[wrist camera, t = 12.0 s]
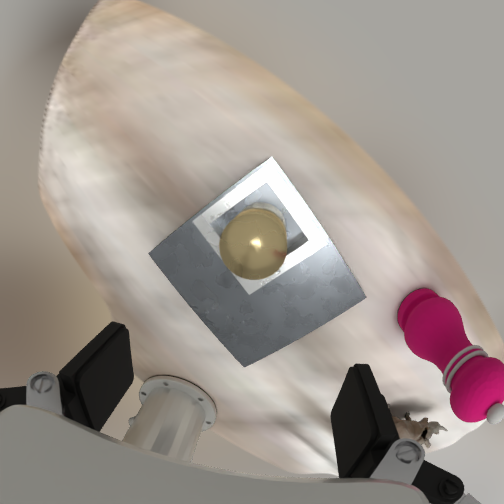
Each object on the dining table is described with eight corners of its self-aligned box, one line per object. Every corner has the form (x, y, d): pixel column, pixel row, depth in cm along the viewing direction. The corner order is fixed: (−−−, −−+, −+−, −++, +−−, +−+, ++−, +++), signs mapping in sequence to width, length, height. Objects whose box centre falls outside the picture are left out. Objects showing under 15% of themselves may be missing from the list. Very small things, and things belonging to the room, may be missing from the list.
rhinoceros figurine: (319, 439, 35) (391, 487, 22) (376, 379, 40) (451, 408, 27) (332, 456, 37) (395, 498, 24) (383, 402, 42) (448, 430, 29)
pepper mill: (405, 279, 30) (501, 388, 11) (448, 288, 29) (544, 380, 10) (385, 332, 32) (446, 457, 13) (428, 337, 31) (497, 443, 12)
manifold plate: (245, 360, 35) (241, 380, 31) (153, 250, 32) (138, 260, 28) (363, 292, 31) (372, 307, 27) (272, 157, 28) (270, 155, 24)
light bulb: (255, 260, 29) (246, 291, 22) (226, 221, 29) (205, 239, 21) (295, 233, 28) (300, 255, 21) (266, 192, 27) (260, 199, 20)
